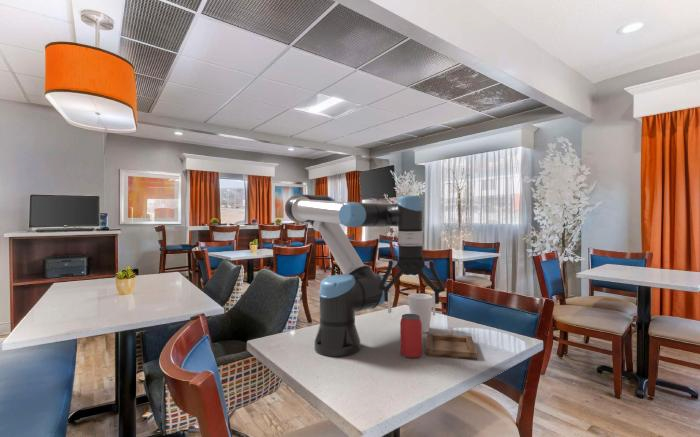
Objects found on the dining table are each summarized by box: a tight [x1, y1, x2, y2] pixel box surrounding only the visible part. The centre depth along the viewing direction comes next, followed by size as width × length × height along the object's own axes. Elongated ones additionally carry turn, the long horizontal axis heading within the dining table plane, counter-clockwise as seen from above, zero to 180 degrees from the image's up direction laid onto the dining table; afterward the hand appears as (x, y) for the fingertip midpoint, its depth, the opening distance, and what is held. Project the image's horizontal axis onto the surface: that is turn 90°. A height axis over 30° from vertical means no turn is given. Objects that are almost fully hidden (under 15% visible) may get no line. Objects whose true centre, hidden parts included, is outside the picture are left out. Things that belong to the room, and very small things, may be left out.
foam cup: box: [407, 293, 433, 334], centre depth 126 cm, size 10×9×13 cm
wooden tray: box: [425, 332, 478, 361], centre depth 107 cm, size 15×17×2 cm
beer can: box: [399, 313, 423, 359], centre depth 102 cm, size 7×7×12 cm
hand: (411, 313), depth 102 cm, fingers open, 13 cm apart
